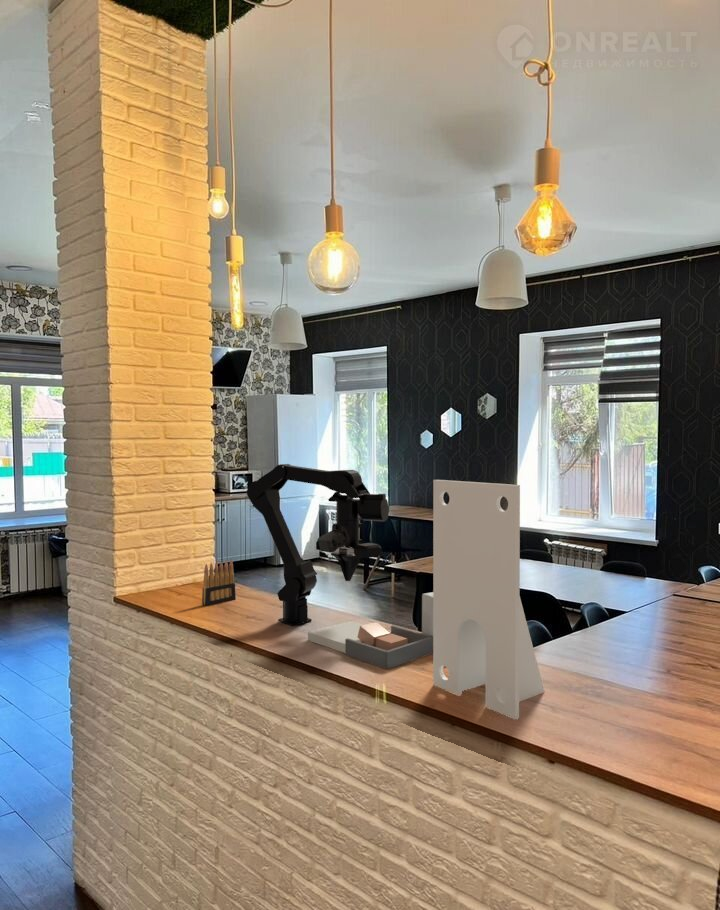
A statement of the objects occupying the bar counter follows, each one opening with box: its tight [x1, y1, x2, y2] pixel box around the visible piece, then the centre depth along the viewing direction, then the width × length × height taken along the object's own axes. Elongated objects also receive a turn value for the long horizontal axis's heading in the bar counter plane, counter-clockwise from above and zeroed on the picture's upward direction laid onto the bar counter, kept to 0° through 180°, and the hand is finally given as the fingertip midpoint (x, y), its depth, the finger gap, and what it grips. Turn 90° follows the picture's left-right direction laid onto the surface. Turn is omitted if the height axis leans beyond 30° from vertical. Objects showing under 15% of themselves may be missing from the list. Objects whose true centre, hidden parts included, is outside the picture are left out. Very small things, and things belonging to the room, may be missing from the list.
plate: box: [307, 620, 391, 654], centre depth 156 cm, size 14×14×2 cm
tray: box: [344, 625, 433, 670], centre depth 146 cm, size 13×16×4 cm
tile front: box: [376, 634, 407, 651], centre depth 146 cm, size 5×5×3 cm
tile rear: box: [357, 621, 390, 647], centre depth 150 cm, size 5×5×3 cm
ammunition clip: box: [201, 559, 237, 607], centre depth 193 cm, size 11×2×12 cm, turn 138°
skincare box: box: [421, 591, 433, 636], centre depth 152 cm, size 6×4×12 cm
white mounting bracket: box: [432, 479, 546, 720], centre depth 123 cm, size 20×14×40 cm
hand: (347, 580), depth 166 cm, fingers closed
